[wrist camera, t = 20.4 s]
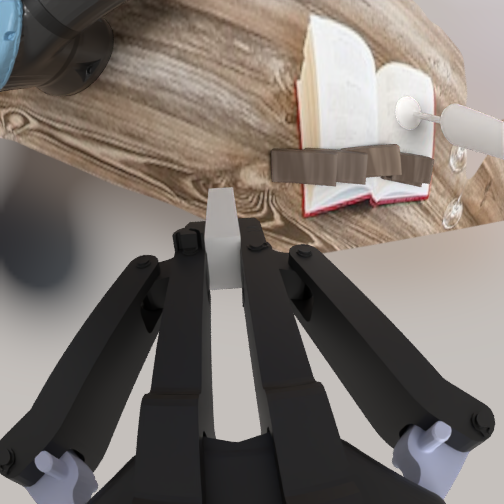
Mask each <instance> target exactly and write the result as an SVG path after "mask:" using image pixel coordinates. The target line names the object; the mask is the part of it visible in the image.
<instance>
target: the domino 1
mask: <svg viewBox="0 0 504 504" xmlns="http://www.w3.org/2000/svg"><path fill="white" fill-rule="evenodd" d="M337 157H338V154H337V152H326V151H312V150H295V149H273V150H272V151H271V160H272V182H286V183H301V184H314V185H326V186H336V175H337Z"/></svg>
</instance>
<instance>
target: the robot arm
mask: <svg viewBox="0 0 504 504" xmlns="http://www.w3.org/2000/svg"><path fill="white" fill-rule="evenodd" d="M126 1H128V0H0V92H1V91H8V90H14V89H22V88H31V87H36V88H38V89H40V90H42V91H43V92H45V93H46V94H49V95H52V96H67V95H72V94H75V93H78V92H80V91H82V90H84V89H85V88H87V87H88V86H89V85H91V84H92V83H93V82H94V81H95V80H96V79H97V78H98V76H99V75H100V74H101V73H102V71H103V70H104V68H105V67H106V65H107V63H108V61H109V58H110V56H111V53H112V49H113V32H112V29H111V27H110V25H109V24H108V22H107V21H106V20H105V19H103V18H102V17H103V16H105V15H106V14H108V13H109V12H111V11H112V10H114V9H115V8H117V7H118V6H120V5H121V4H123V3H125V2H126ZM173 242H174V248H175V255H174V257H173V258H172V259H169V260H166V261H162V262H158V259H157V258H156V257H155V256H152V255H143V256H139V257H137V258H135V259H134V260H132V261H131V262H130V263H129V265H128V266H127V267H126V268H125V270H124V271H123V272H122V273H121V275H120V276H119V277H118V278H117V280H116V281H115V282H114V284H113V285H112V286H111V288H110V289H109V290H108V291H107V293H106V294H105V295H104V297H103V298H102V299H101V301H100V302H99V303H98V305H97V306H96V307H95V309H94V310H93V312H92V313H91V314H90V316H89V318H88V319H87V320H86V321H85V323H84V324H83V326H82V327H81V329H80V330H79V331H78V333H77V334H76V336H75V337H74V339H73V340H72V342H71V343H70V345H69V346H68V348H67V349H66V351H65V352H64V354H63V356H62V357H61V359H60V360H59V362H58V364H57V365H56V367H55V368H54V370H53V372H52V373H51V375H50V376H49V378H48V380H47V382H46V383H45V385H44V387H43V389H42V390H41V392H40V394H39V396H38V397H37V399H36V401H35V403H34V404H33V406H32V408H31V410H30V411H29V412H28V413H27V414H26V415H25V416H24V417H23V418H22V419H21V420H20V421H19V422H18V423H17V424H16V425H15V426H14V427H13V428H12V429H11V430H10V431H9V432H8V433H7V434H6V435H5V436H4V437H3V438H2V439H1V440H0V473H1V475H3V476H5V477H6V478H8V479H10V480H12V481H14V482H16V483H18V484H20V485H22V486H23V487H25V488H26V489H27V491H28V492H29V494H30V495H31V496H32V498H33V499H34V500H35V502H36V503H37V504H446V503H445V502H444V498H445V496H446V495H447V493H448V491H449V490H450V488H451V486H452V485H453V482H454V481H455V479H456V477H457V475H458V473H459V472H460V470H461V468H462V466H463V464H464V462H465V459H466V457H467V455H468V454H469V452H470V451H471V450H472V449H474V448H475V447H477V446H478V445H480V444H481V443H483V442H484V441H485V440H486V439H488V438H489V437H490V436H491V434H492V433H493V431H494V426H495V419H494V415H493V413H492V411H491V409H490V408H489V407H488V406H487V405H485V404H484V403H482V402H480V401H479V400H477V399H475V398H474V397H472V396H471V395H469V394H467V393H466V392H464V391H463V390H461V389H459V388H458V387H456V386H454V385H453V384H451V383H450V382H448V381H446V380H445V379H444V378H442V376H441V375H440V374H439V373H438V372H437V371H436V369H435V368H434V367H433V366H432V365H431V364H430V363H429V362H428V361H427V359H426V358H425V357H424V356H423V355H422V354H421V353H420V352H419V351H418V350H417V349H416V347H415V346H414V345H413V344H412V343H411V342H410V341H409V340H408V339H407V338H406V337H405V336H404V335H403V333H402V332H401V331H400V330H399V329H398V328H397V327H396V326H395V325H394V324H393V323H392V322H391V321H390V320H389V319H388V318H387V317H386V316H385V315H384V314H383V313H382V312H381V311H380V310H379V309H378V308H377V307H376V306H375V305H374V304H373V303H372V302H371V301H370V300H369V299H368V298H367V297H366V296H365V295H364V294H363V293H362V292H361V291H360V290H359V289H358V288H357V287H356V286H355V285H354V284H353V283H352V282H351V281H350V280H349V279H348V278H347V277H346V276H345V275H344V274H343V273H342V272H341V271H340V270H339V269H338V268H337V267H336V266H335V265H334V264H333V263H331V261H330V260H328V259H327V258H326V257H325V256H324V255H323V254H322V253H321V252H320V251H319V250H318V249H316V248H315V247H313V246H310V245H305V244H301V245H295V246H293V247H291V248H290V250H289V253H283V252H278V251H275V250H273V249H272V247H271V245H270V244H269V243H268V242H266V240H265V237H264V233H263V231H262V227H261V224H260V221H258V220H257V219H256V218H239V219H238V218H237V211H236V205H235V199H234V193H233V187H230V188H213V189H209V193H208V203H207V213H206V221H202V222H190V223H189V224H187V225H186V226H185V228H182V229H179V230H177V231H176V232H174V234H173ZM232 288H242V299H243V307H244V311H245V319H246V326H247V334H248V341H249V348H250V356H251V362H252V370H253V377H254V384H255V391H256V398H257V404H258V412H259V418H260V426H261V435H259V436H256V437H254V438H250V439H247V440H244V441H241V442H230V441H224V440H218V439H216V437H215V432H214V417H213V395H212V368H211V367H212V364H211V295H210V290H217V289H232ZM294 315H295V316H296V317H297V319H298V320H299V322H300V323H301V325H302V326H303V327H304V329H305V330H306V332H307V333H308V335H309V336H310V337H311V339H312V340H313V342H314V343H315V345H316V346H317V348H318V349H319V351H320V352H321V353H322V355H323V356H324V358H325V359H326V361H327V362H328V363H329V365H330V366H331V368H332V369H333V370H334V372H335V373H336V375H337V376H338V378H339V379H340V381H341V382H342V383H343V385H344V386H345V388H346V389H347V391H348V392H349V394H350V395H351V396H352V398H353V399H354V401H355V402H356V404H357V405H358V406H359V408H360V409H361V411H362V412H363V414H364V415H365V417H366V418H367V419H368V421H369V422H370V424H371V425H372V427H373V428H374V429H375V430H376V432H377V433H378V434H379V435H380V437H382V439H383V440H385V442H386V443H388V444H389V445H390V446H391V447H392V448H394V452H393V459H392V463H393V465H394V466H395V467H396V468H399V469H400V470H401V471H402V473H403V476H404V477H403V476H401V475H399V474H398V473H396V472H394V471H393V470H391V469H389V468H387V467H386V466H384V465H382V464H381V463H379V462H377V461H376V460H374V459H373V458H371V457H369V456H368V455H366V454H365V453H363V452H361V451H360V450H359V449H357V448H356V447H354V446H352V445H351V444H349V443H348V442H346V441H344V440H342V439H340V436H339V433H338V429H337V426H336V423H335V419H334V416H333V413H332V410H331V407H330V403H329V400H328V398H327V394H326V391H325V389H324V386H323V385H322V384H321V382H316V381H315V379H314V377H313V374H312V371H311V367H310V364H309V361H308V358H307V355H306V351H305V348H304V345H303V342H302V339H301V335H300V332H299V329H298V326H297V323H296V320H295V317H294ZM158 332H159V336H158V342H157V348H156V355H155V362H154V369H153V376H152V384H151V390H150V392H149V393H148V394H145V395H144V396H143V398H142V402H141V407H140V417H139V425H138V436H137V448H136V455H135V456H134V457H132V459H130V460H129V461H128V462H127V463H126V464H125V465H124V467H123V468H122V469H121V470H120V471H119V472H118V473H117V474H116V475H115V476H114V477H113V478H112V479H111V480H110V481H109V482H108V483H107V484H106V485H105V486H104V487H103V488H101V490H99V492H97V493H96V494H95V495H94V496H93V497H92V498H91V495H92V493H93V492H95V491H96V490H97V489H98V484H97V481H96V480H95V476H94V474H93V472H94V471H95V469H96V468H97V467H98V465H99V463H100V462H101V460H102V459H103V457H104V455H105V452H106V450H107V448H108V446H109V443H110V441H111V438H112V436H113V433H114V431H115V428H116V426H117V424H118V421H119V419H120V416H121V414H122V412H123V409H124V407H125V405H126V402H127V400H128V398H129V395H130V393H131V391H132V389H133V386H134V384H135V382H136V380H137V377H138V375H139V373H140V371H141V369H142V366H143V364H144V362H145V360H146V358H147V356H148V353H149V351H150V349H151V347H152V345H153V343H154V341H155V339H156V337H157V334H158Z"/></svg>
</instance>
